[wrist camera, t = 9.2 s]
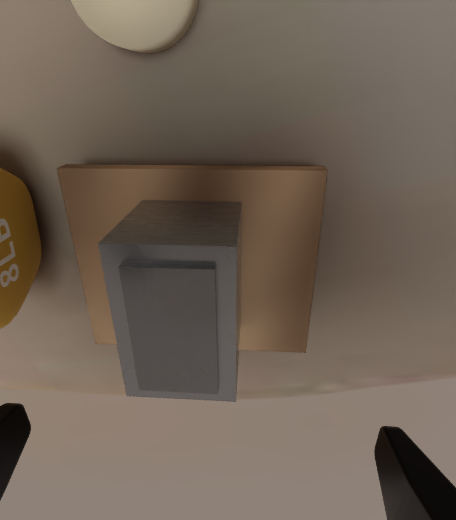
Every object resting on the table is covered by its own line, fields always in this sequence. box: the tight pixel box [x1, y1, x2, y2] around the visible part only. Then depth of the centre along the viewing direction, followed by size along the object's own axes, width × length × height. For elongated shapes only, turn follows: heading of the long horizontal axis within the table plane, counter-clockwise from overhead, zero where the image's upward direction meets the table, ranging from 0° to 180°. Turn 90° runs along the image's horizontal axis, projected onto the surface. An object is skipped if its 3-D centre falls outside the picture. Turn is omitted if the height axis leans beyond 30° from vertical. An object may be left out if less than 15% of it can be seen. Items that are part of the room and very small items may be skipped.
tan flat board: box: [57, 164, 328, 353], centre depth 18 cm, size 12×10×2 cm
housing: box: [98, 200, 242, 402], centre depth 15 cm, size 7×5×5 cm, turn 0°
